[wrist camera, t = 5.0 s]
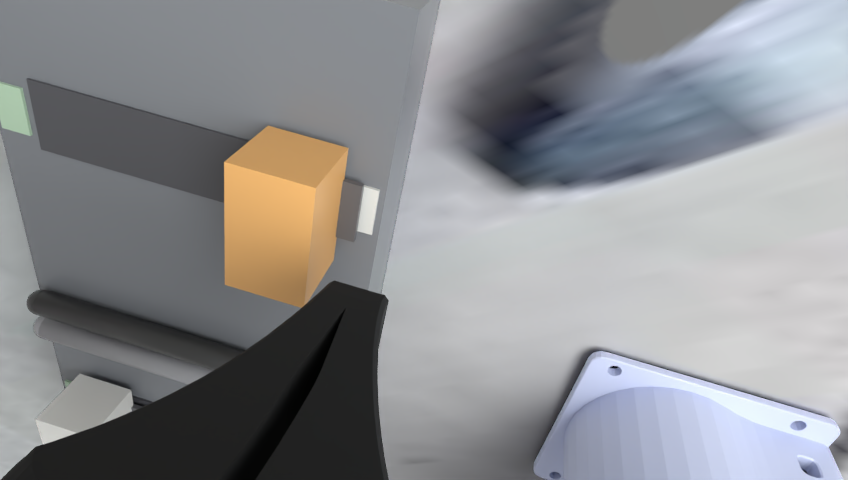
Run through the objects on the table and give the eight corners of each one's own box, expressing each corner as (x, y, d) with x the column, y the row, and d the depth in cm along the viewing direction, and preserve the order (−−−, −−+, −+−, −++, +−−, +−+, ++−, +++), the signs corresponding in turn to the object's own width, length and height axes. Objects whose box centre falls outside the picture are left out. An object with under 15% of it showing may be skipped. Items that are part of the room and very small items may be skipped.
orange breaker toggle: (369, 153, 16) (339, 194, 14) (351, 264, 18) (323, 314, 16) (249, 119, 16) (201, 155, 14) (246, 232, 18) (205, 278, 16)
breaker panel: (442, -11, 16) (410, 18, 13) (345, 470, 30) (317, 543, 26) (29, -117, 17) (-98, -116, 14) (117, 397, 31) (63, 459, 27)
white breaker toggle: (144, 393, 24) (104, 441, 22) (152, 448, 27) (116, 497, 24) (67, 368, 25) (21, 414, 22) (81, 425, 27) (40, 472, 25)
